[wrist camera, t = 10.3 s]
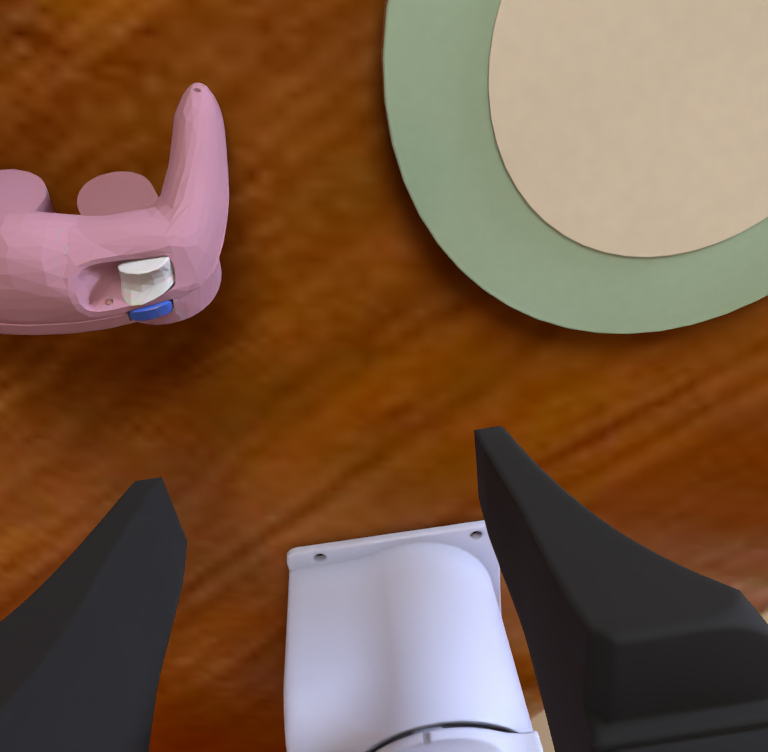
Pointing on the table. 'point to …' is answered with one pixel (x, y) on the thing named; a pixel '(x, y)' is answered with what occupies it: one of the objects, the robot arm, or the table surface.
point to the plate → (588, 152)
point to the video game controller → (119, 238)
